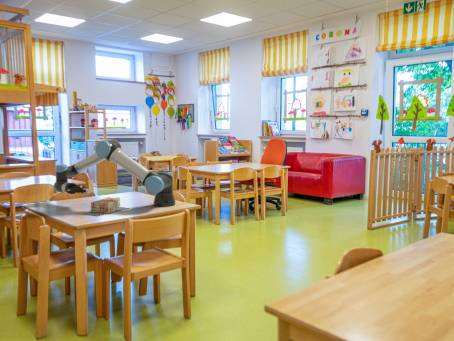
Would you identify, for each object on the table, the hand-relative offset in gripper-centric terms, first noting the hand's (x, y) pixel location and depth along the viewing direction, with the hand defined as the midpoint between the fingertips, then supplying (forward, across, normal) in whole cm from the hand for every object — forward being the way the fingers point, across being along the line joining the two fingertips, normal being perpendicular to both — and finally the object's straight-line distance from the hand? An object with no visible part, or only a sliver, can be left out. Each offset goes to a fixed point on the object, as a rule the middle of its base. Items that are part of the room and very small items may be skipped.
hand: (90, 191), depth 272 cm
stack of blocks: (+7, -2, -8) cm, 11 cm away
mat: (+14, -2, -12) cm, 19 cm away
